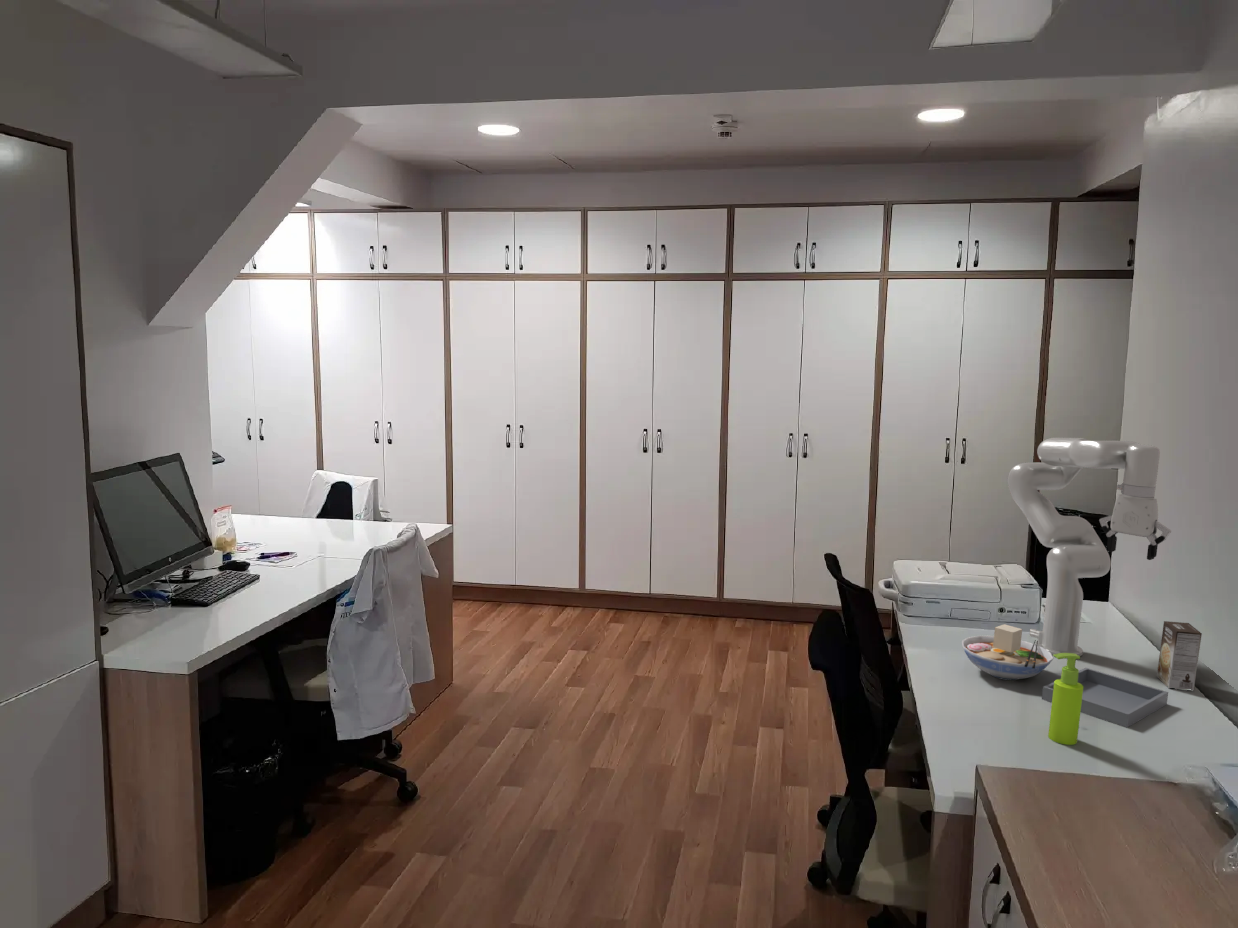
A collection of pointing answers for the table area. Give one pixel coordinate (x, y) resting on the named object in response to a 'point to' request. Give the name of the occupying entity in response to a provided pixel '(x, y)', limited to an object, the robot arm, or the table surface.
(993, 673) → the ramen bowl
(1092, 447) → the robot arm
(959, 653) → the table surface
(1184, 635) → the coffee box
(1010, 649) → the tan wooden cube
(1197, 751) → the table surface
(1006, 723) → the table surface
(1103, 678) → the parts tray
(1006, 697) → the table surface
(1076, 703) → the soap dispenser
